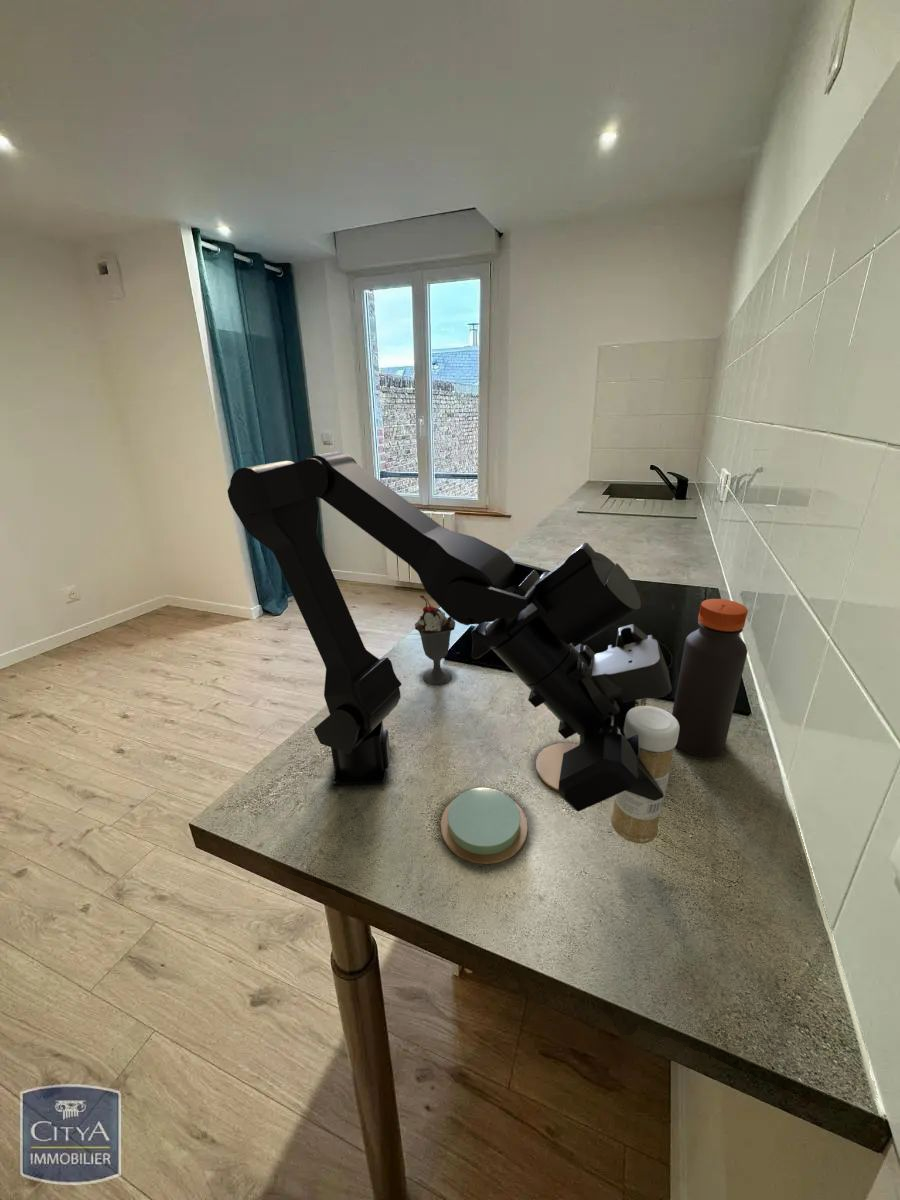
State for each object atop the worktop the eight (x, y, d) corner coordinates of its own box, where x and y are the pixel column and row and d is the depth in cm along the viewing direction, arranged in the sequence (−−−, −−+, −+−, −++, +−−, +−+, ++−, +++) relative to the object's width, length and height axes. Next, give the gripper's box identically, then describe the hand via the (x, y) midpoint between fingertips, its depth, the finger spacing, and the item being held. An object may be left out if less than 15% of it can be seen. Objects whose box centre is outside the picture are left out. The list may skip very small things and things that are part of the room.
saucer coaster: (441, 866, 48) (441, 864, 48) (440, 793, 57) (440, 792, 57) (535, 861, 48) (535, 859, 48) (519, 790, 57) (519, 788, 57)
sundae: (413, 670, 83) (408, 591, 77) (450, 664, 85) (447, 586, 79) (423, 690, 77) (417, 607, 71) (461, 683, 79) (459, 600, 73)
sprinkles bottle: (640, 805, 50) (659, 700, 45) (667, 841, 46) (692, 730, 41) (601, 813, 49) (616, 707, 44) (625, 851, 45) (645, 738, 40)
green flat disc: (448, 856, 49) (448, 848, 48) (446, 796, 56) (446, 789, 55) (526, 852, 49) (526, 844, 48) (514, 793, 56) (514, 785, 56)
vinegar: (729, 762, 60) (765, 620, 52) (671, 753, 62) (698, 615, 54) (717, 729, 66) (747, 597, 58) (665, 722, 68) (687, 593, 60)
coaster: (544, 797, 56) (544, 795, 56) (529, 746, 64) (529, 744, 64) (619, 793, 56) (619, 791, 56) (595, 743, 64) (595, 741, 64)
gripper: (620, 671, 32) (768, 830, 33) (619, 577, 48) (718, 686, 49) (502, 742, 37) (633, 876, 38) (537, 636, 53) (628, 732, 55)
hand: (657, 780), depth 45 cm, fingers closed on sprinkles bottle, 4 cm apart
